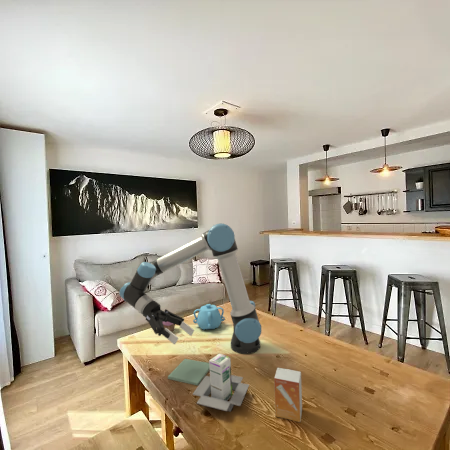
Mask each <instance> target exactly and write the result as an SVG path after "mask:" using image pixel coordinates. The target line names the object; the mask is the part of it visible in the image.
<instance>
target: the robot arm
mask: <svg viewBox="0 0 450 450" xmlns="http://www.w3.org/2000/svg"><path fill="white" fill-rule="evenodd" d="M235 237H236V236H235V233H234V230H233V228H232V227H231V226H229V225H228V224H227V223H226V224H225V223H216V224H213V226H210V228H209V229H207V230H206V231H205V232H203V233H202V234H201V235H200V236H199V237H197V238H195V239H193V240H191V241H190V242H187V243H185V244H184V245H182V246H179V247H177V248H176V249H174V250H173V251H170V252H168V253H166V254H164V255H162V256H160V257H159V258H157V259H154V260H153V261H150V262H148V261H143V262H141V263H140V265H139V266H138V268H137V270H136V272H135V273H134V275H133V277H132V279H131V281H130V282H129V281H128V282H126V283H124V284H123V286H122V287H120V289H119V293H118V294H119V296H120V298H122V300H124V302H126V303H127V304H128V305H130V306H131V307H132V308H134V309H135V310H136V311H137V312H138V313H139V314H141V315H142V316H143V317H144V318H145V321H146V322H148V324H149V326H150V328H151V329H152V331H153V332H154V334H155V335H158V337H161V336H163V337H165V338H166V339H167V340H168V341H169V342H170V343H172V345H176V344H177V341H178V340H179V336H177V335H176V334H174V333H173V331H170V330H168V329H167V328H165V330H164V326H163V323H162V322H170V323H173V324H175V326H179V328H180V329H181V330H183V331H184V333H186V334H187V335H189V336H190V337H192V336H193V335H194V332H195V329H194V328H192V327H191V326H190V325H189V324H187V323H186V322H185V318H183V317H181V316H179V315H178V314H175V313H173V312H171V311H169V310H168V309H167V308H166V309H165V310H162V309H161V305H160V304H159V303H158V302H157V301H156V300H154V299H153V298H152V297H150V295H148V294H147V293H146V290H147V289H148V286H149V285H150V283H151V281H153V280H154V279H155V278H156V277H158V276H160V275H162V274H163V273H165V272H167V271H169V270H171V269H173V268H175V267H177V266H179V265H181V264H183V263H185V262H187V261H189V260H190V259H192V258H193V259H194V257H196V256H199V255H200V254H202V253H205V252H206V251H211V253H212V257H213V258H215V259H216V260H217V262H218V265H219V268H220V272H221V275H222V279H223V281H224V286H225V289H226V291H227V295H228V296H227V297H228V299H229V303H230V306H231V311H230V312H229V313H230V317H231V320H232V325H233V330H232V331H233V332H232V335H231V339H230V349H231V350H232V351H233V352H235V353H238V354H242V355H247V354H253V353H256V352H258V351H259V350H261V340H260V336H261V334H262V324H261V323H260V320H259V316H258V313H257V310H256V302H254V301H253V300H250V298H249V294H248V291H247V288H246V285H245V284H246V283H245V281H244V278H243V274H242V269H241V267H240V263H239V260H238V257H237V252H238V249H239V248H238V245H237V242H236V238H235Z"/></svg>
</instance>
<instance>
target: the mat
mask: <svg viewBox="0 0 450 450" xmlns="http://www.w3.org/2000/svg"><path fill="white" fill-rule="evenodd" d="M208 372H210V366H209V362H205V361H200V360H194V359H188V358H184V359H183V360H182V361H181V362H180V363H179V364H178V365H177V366H176V368H175V369H173V370H172V371H171V372H170V373H169V374H168V375H167V380H170V381H176V382H179V383H184V384H188V385H194V386H197V387H198V386H199V384H200V383H201V382H202V380H203V379H204V378H205V376H207V374H208Z"/></svg>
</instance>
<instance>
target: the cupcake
mask: <svg viewBox="0 0 450 450" xmlns="http://www.w3.org/2000/svg"><path fill="white" fill-rule="evenodd" d="M162 323H163V326H164V330H165V328H167V329H168V330H170V331H171V332H173V331H175V327H176V324H173V323H170V322H162Z"/></svg>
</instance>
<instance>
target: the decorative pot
mask: <svg viewBox="0 0 450 450" xmlns="http://www.w3.org/2000/svg"><path fill="white" fill-rule="evenodd" d="M219 310H221V313H220V311H219ZM197 312H198V313H197ZM224 312H225V311H224V308H223V307H221V306H218V307H217V305H215V304H211V303H207V304H205V305H202V306H200V308H197V309H195V310H194V311H193V316H194V319H193V324H197V326H198V327H199V328H200V329H201V330H202V329H203V331H206V330H216V329H215V328H217V329H218V328H219V327H220V325H221V324H222V322H224V321H225V319H226V317H225V316H224ZM196 313H197V316H196ZM205 329H206V330H205Z"/></svg>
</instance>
